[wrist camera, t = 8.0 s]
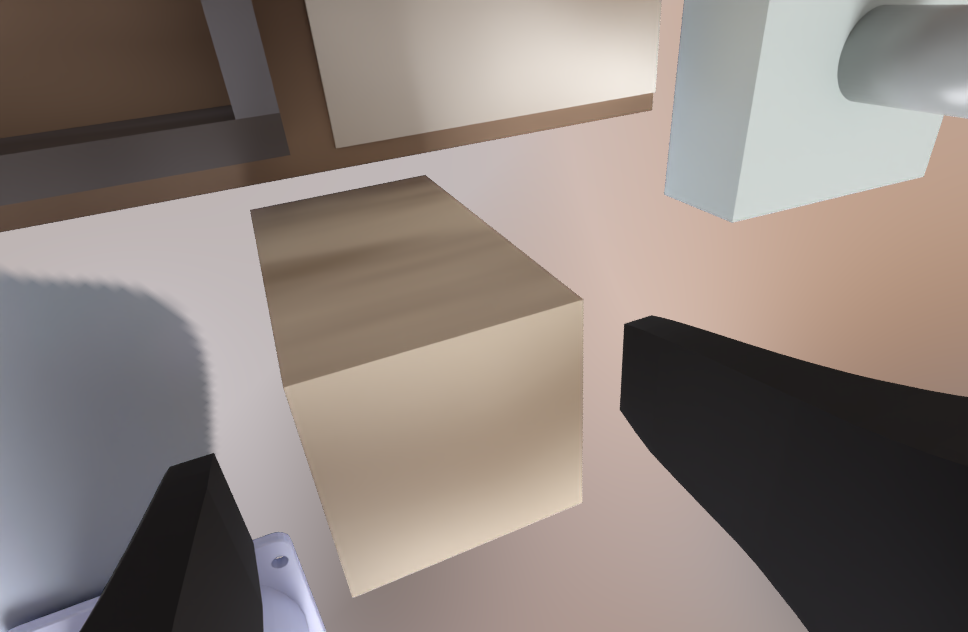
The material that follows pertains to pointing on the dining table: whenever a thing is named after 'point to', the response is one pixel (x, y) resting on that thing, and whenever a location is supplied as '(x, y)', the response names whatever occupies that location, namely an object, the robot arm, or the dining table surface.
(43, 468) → the dining table surface
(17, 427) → the dining table surface
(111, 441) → the dining table surface
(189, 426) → the dining table surface
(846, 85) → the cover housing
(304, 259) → the maple peg
